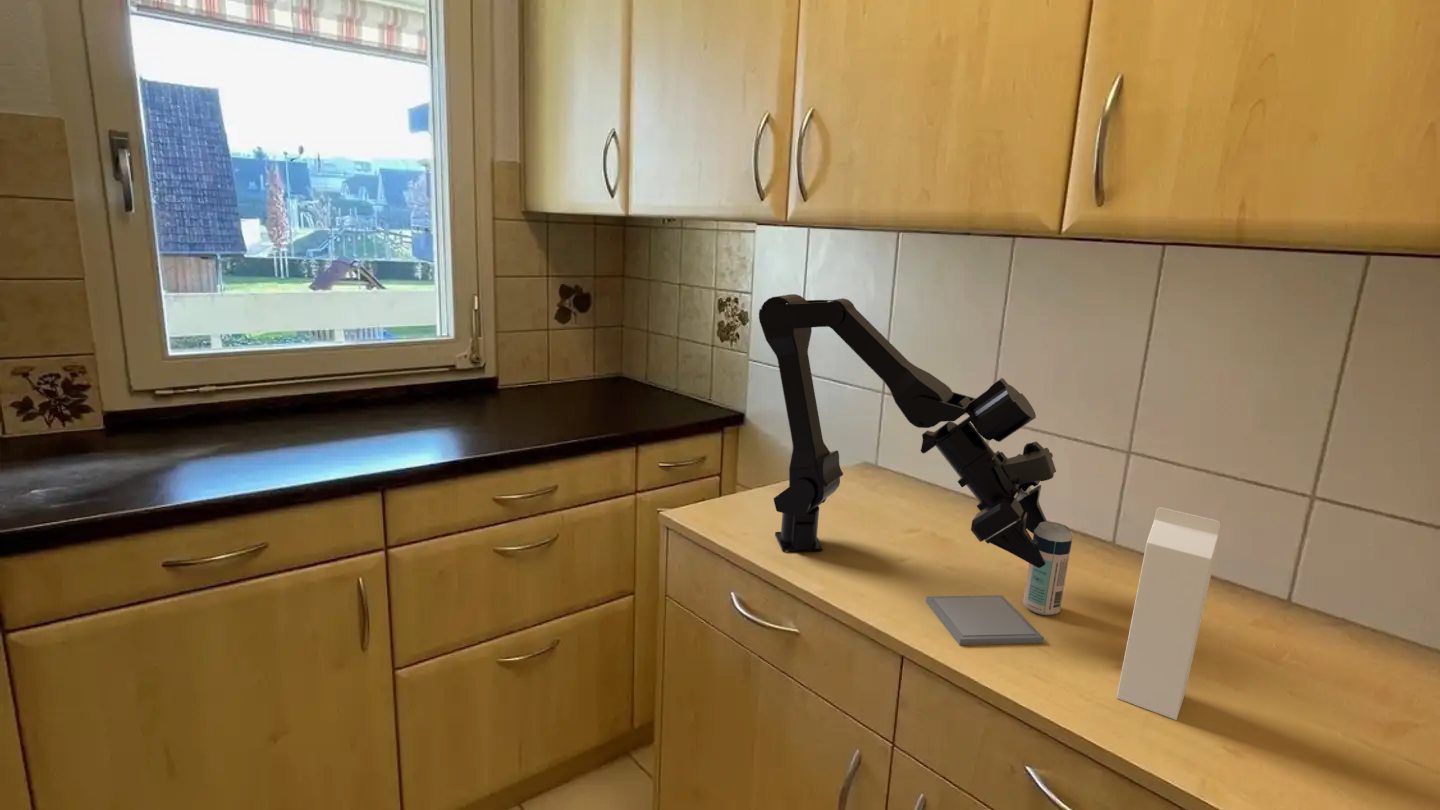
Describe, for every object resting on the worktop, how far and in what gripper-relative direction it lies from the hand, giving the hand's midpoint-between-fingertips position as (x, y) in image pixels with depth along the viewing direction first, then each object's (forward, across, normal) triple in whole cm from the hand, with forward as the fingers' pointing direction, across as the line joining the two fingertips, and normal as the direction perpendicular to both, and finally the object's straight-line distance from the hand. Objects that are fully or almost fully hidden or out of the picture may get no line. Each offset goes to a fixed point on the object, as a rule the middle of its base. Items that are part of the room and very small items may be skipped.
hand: (1047, 553), depth 104 cm
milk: (+16, -15, -4) cm, 22 cm away
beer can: (+6, 0, +6) cm, 8 cm away
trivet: (+2, -8, +10) cm, 13 cm away
